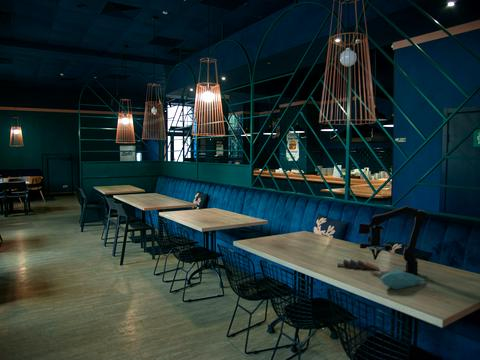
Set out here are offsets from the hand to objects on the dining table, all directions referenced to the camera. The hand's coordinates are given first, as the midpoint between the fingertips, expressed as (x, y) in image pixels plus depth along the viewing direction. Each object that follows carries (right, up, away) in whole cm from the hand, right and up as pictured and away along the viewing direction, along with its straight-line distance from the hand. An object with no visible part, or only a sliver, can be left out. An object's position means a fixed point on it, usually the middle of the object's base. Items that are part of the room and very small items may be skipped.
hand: (374, 259), depth 228 cm
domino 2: (-3, -5, +1) cm, 6 cm away
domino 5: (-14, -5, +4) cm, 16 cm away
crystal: (+5, -8, -29) cm, 31 cm away
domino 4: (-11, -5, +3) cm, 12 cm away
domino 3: (-7, -5, +2) cm, 9 cm away
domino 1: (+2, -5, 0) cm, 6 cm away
